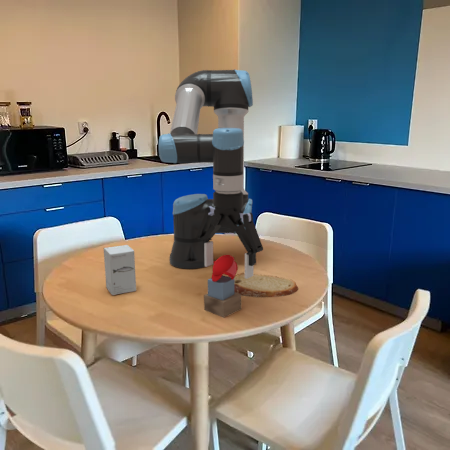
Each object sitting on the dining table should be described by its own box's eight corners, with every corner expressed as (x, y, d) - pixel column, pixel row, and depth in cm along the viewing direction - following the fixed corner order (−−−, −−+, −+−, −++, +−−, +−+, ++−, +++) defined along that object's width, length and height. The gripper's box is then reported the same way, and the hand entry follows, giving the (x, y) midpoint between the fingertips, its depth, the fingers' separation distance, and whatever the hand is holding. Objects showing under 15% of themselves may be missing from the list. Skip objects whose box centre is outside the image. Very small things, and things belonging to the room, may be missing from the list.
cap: (226, 259, 124) (210, 251, 121) (241, 257, 120) (226, 249, 116) (220, 287, 121) (204, 280, 118) (237, 286, 117) (220, 279, 114)
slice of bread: (303, 291, 134) (304, 279, 134) (258, 307, 124) (258, 294, 123) (262, 274, 148) (262, 263, 147) (218, 287, 137) (218, 275, 136)
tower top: (207, 295, 120) (207, 279, 118) (219, 289, 124) (219, 274, 122) (222, 300, 117) (223, 284, 116) (234, 294, 121) (234, 278, 119)
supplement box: (112, 296, 130) (108, 254, 127) (105, 287, 137) (102, 247, 133) (137, 291, 133) (134, 250, 130) (129, 283, 140) (127, 243, 137)
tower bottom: (204, 310, 121) (204, 295, 120) (222, 302, 126) (221, 287, 125) (223, 318, 117) (223, 302, 116) (241, 309, 122) (241, 294, 121)
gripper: (182, 187, 119) (184, 264, 124) (259, 199, 103) (258, 286, 109) (201, 183, 124) (202, 257, 130) (278, 194, 109) (276, 277, 114)
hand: (228, 271), depth 119 cm, fingers open, 13 cm apart
